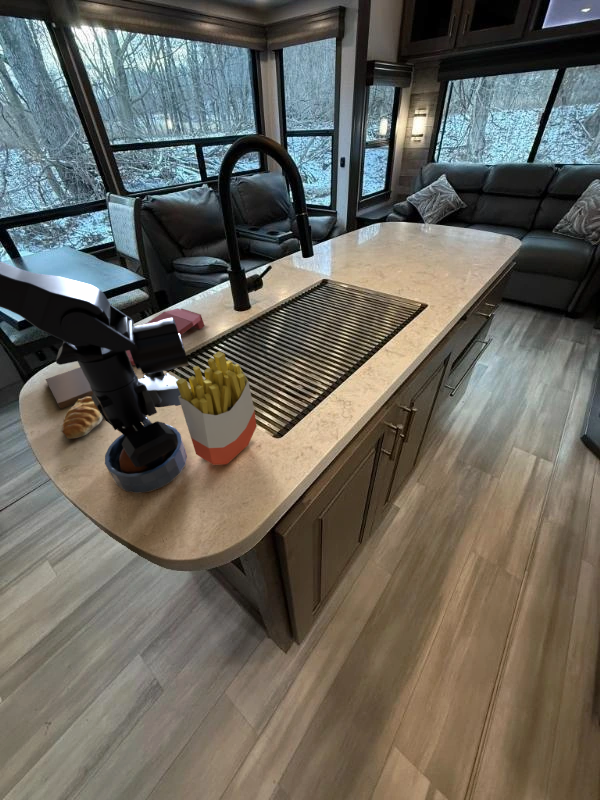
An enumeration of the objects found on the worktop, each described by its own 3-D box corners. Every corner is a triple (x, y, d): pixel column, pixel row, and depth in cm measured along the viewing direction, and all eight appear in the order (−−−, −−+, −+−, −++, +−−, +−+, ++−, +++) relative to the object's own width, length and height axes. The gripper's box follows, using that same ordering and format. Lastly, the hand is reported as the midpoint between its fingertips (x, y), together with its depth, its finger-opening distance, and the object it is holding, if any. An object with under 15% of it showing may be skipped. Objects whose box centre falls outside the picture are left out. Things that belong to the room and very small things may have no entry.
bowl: (130, 508, 51) (119, 490, 48) (105, 464, 58) (95, 446, 55) (199, 467, 57) (194, 449, 54) (169, 431, 64) (163, 414, 61)
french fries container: (259, 437, 62) (248, 354, 51) (217, 475, 55) (194, 389, 44) (241, 427, 64) (227, 345, 53) (198, 463, 57) (172, 378, 46)
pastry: (92, 440, 62) (84, 425, 60) (55, 442, 62) (45, 427, 59) (111, 408, 69) (104, 393, 67) (78, 410, 69) (70, 395, 67)
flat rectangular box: (61, 409, 69) (57, 403, 68) (48, 384, 76) (45, 379, 76) (119, 386, 76) (117, 380, 75) (103, 365, 83) (100, 360, 82)
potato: (186, 454, 58) (177, 427, 54) (141, 492, 52) (127, 465, 48) (159, 439, 61) (149, 413, 57) (114, 473, 55) (99, 447, 51)
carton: (141, 378, 84) (209, 327, 98) (132, 363, 80) (204, 312, 94) (113, 364, 89) (181, 318, 103) (103, 350, 86) (175, 303, 99)
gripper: (198, 384, 44) (219, 461, 54) (144, 337, 55) (170, 408, 65) (112, 423, 39) (153, 501, 48) (71, 362, 50) (111, 436, 60)
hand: (149, 455), depth 56 cm, fingers open, 8 cm apart
